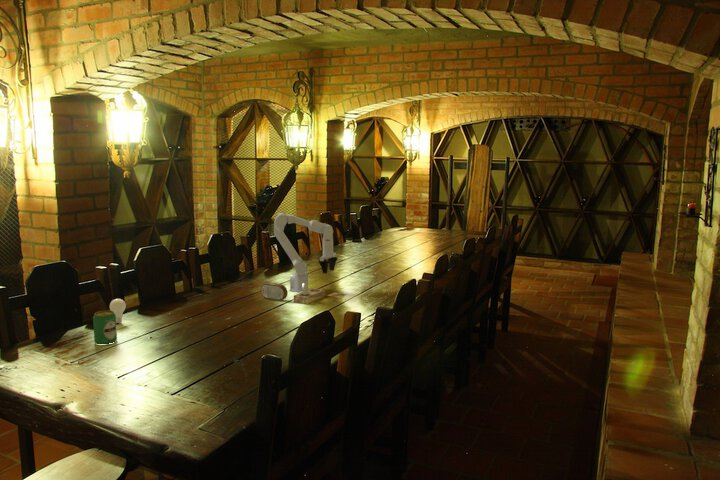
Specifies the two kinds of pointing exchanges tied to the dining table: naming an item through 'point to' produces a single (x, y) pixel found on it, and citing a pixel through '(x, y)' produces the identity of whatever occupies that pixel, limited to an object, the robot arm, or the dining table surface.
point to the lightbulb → (118, 309)
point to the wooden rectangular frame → (309, 296)
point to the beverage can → (104, 327)
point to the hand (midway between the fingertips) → (328, 271)
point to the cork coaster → (337, 295)
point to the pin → (304, 289)
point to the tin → (274, 291)
